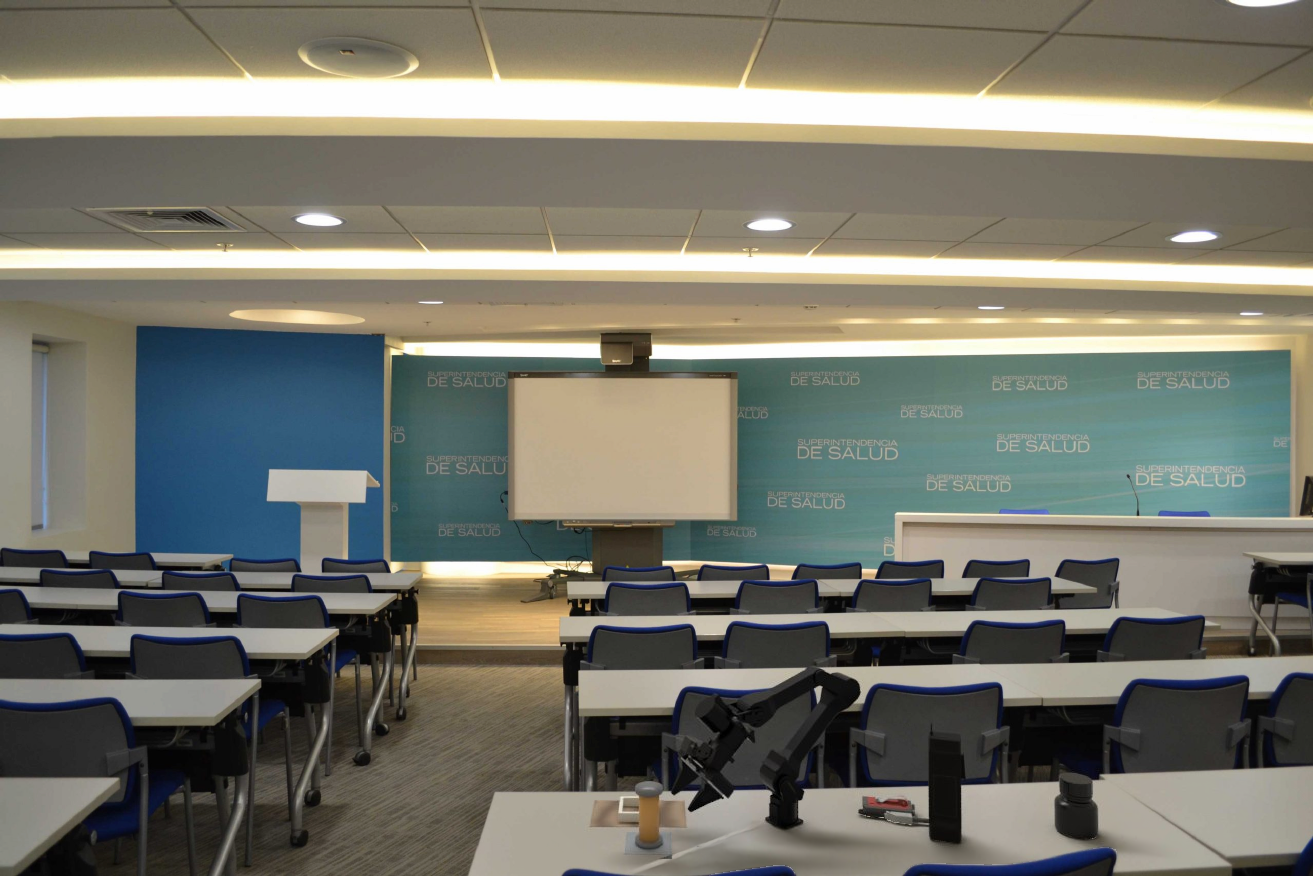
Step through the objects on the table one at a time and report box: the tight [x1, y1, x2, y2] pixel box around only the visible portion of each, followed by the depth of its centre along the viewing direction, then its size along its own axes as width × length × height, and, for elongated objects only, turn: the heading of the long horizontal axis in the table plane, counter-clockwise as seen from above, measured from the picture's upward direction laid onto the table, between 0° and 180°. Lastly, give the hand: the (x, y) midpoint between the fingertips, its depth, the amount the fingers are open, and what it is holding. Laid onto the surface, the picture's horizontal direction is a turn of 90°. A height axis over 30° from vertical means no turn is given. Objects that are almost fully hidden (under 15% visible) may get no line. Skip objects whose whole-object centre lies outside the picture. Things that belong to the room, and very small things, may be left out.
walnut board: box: [589, 799, 687, 828], centre depth 188 cm, size 22×14×1 cm, turn 90°
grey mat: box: [624, 831, 673, 860], centre depth 173 cm, size 10×10×1 cm
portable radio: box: [927, 723, 967, 845], centre depth 179 cm, size 8×6×25 cm
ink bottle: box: [1053, 772, 1099, 840], centre depth 182 cm, size 10×9×12 cm
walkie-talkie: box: [857, 794, 929, 826], centre depth 189 cm, size 9×4×20 cm
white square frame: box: [618, 795, 639, 822], centre depth 188 cm, size 9×9×2 cm
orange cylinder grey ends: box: [634, 780, 664, 849], centre depth 174 cm, size 6×6×12 cm
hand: (680, 802), depth 176 cm, fingers open, 9 cm apart
